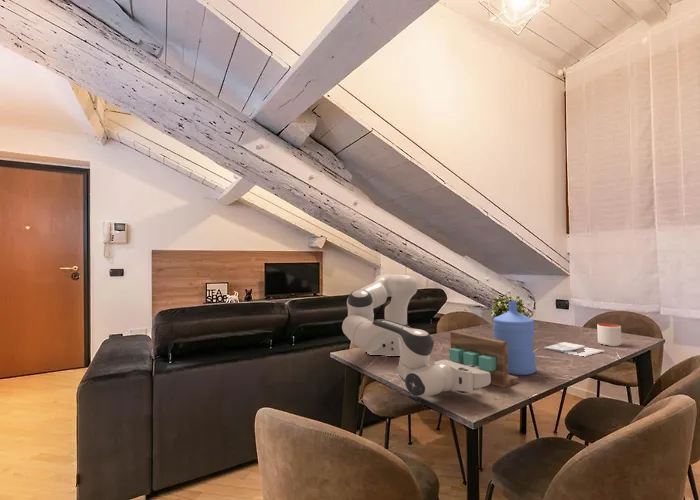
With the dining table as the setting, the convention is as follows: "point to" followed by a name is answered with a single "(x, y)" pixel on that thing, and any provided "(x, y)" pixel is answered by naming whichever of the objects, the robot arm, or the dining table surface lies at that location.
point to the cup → (609, 334)
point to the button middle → (471, 358)
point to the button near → (488, 362)
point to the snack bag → (567, 347)
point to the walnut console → (487, 347)
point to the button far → (457, 354)
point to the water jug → (516, 340)
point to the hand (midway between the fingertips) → (475, 368)
